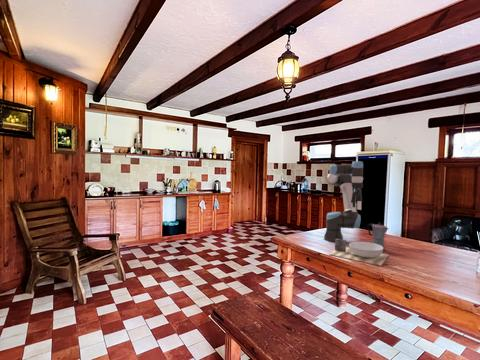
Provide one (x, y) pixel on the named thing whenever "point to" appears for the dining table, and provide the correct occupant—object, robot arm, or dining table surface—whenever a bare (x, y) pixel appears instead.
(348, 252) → the serving board
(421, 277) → the dining table surface
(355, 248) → the serving bowl
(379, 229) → the moka pot
